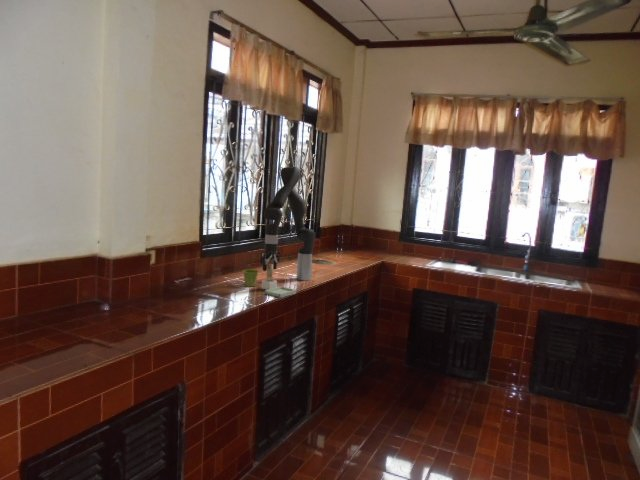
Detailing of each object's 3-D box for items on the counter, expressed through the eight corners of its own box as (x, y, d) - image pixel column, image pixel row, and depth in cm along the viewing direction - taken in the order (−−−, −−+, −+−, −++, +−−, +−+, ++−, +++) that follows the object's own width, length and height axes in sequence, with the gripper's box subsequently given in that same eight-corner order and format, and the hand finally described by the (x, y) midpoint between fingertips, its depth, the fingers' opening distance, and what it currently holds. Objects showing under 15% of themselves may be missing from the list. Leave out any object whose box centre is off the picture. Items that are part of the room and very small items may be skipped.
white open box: (268, 287, 275) (268, 278, 274) (276, 289, 272) (276, 280, 271) (261, 288, 270) (261, 280, 269) (269, 290, 267) (270, 282, 266)
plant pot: (259, 284, 281) (260, 270, 279) (256, 287, 271) (256, 273, 270) (244, 283, 281) (245, 269, 280) (240, 286, 272) (241, 271, 271)
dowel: (268, 286, 273) (270, 263, 271) (273, 287, 271) (274, 264, 269) (264, 287, 270) (266, 263, 268) (269, 288, 268) (270, 264, 267)
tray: (281, 289, 271) (281, 286, 271) (296, 293, 265) (296, 289, 265) (264, 293, 259) (264, 290, 259) (279, 297, 253) (280, 294, 252)
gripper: (274, 240, 275) (272, 267, 277) (258, 242, 264) (256, 270, 266) (284, 242, 271) (282, 269, 273) (268, 244, 259) (266, 272, 261)
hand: (269, 269), depth 269 cm, fingers open, 8 cm apart
